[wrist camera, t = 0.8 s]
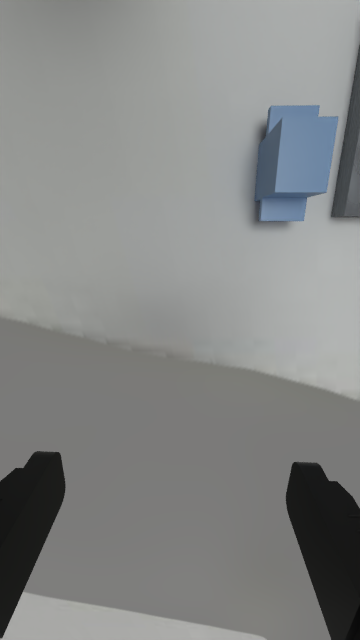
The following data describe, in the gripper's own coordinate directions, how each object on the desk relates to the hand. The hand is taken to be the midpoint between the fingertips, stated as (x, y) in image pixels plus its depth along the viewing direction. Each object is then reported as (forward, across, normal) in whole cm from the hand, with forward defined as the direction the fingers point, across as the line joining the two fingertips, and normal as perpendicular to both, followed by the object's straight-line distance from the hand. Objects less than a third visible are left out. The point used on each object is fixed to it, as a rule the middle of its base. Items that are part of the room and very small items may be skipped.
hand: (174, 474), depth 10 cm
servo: (+24, -9, -13) cm, 28 cm away
